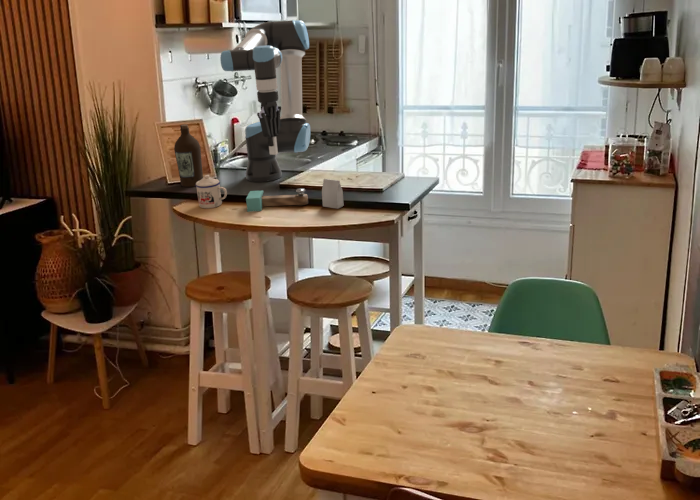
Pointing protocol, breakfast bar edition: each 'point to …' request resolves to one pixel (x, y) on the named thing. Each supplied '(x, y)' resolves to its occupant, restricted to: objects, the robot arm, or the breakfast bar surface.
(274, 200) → the walnut link
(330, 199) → the white paper bag
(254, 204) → the teal rectangular block
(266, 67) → the robot arm
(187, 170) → the olive oil
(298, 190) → the pintle
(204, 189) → the teacup with lid
